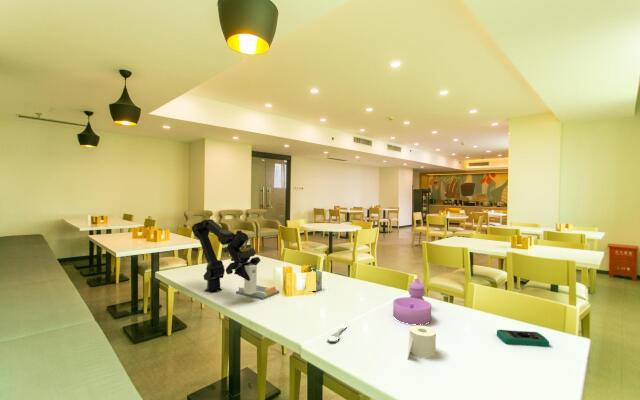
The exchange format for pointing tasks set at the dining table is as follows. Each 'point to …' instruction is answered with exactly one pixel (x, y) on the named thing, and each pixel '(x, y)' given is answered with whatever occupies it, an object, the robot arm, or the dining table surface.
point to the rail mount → (260, 292)
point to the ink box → (317, 277)
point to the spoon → (336, 334)
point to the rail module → (250, 285)
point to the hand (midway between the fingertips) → (252, 279)
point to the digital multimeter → (522, 338)
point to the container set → (413, 306)
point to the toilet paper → (422, 341)
